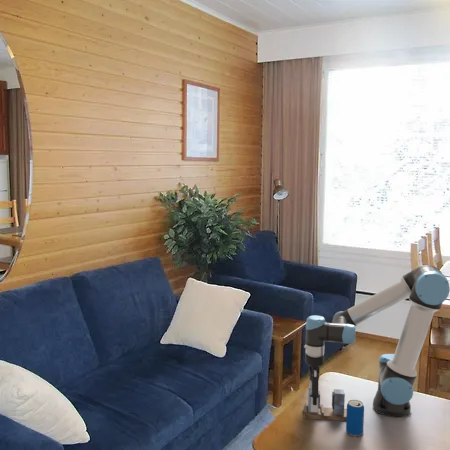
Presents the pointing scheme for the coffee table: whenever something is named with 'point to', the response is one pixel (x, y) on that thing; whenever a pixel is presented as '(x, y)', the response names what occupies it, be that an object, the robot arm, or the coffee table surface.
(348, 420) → the beverage can
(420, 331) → the robot arm
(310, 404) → the block
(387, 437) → the coffee table surface
